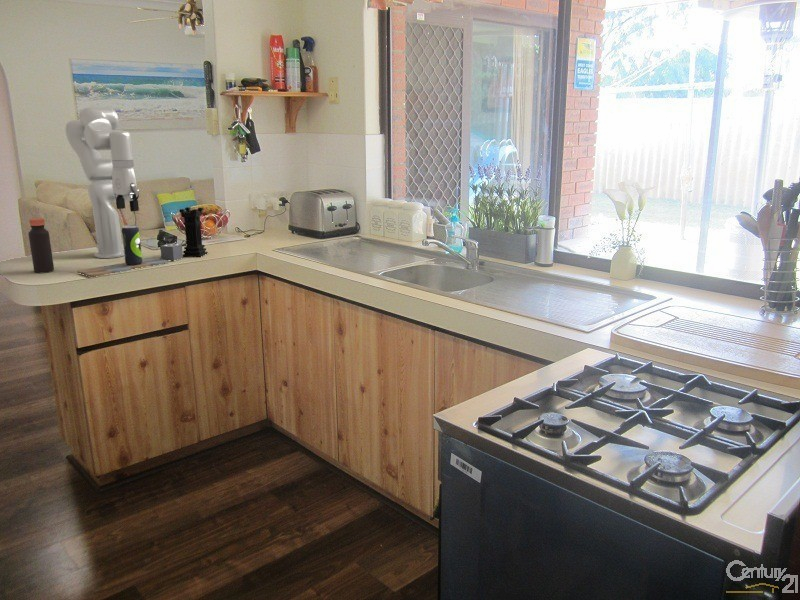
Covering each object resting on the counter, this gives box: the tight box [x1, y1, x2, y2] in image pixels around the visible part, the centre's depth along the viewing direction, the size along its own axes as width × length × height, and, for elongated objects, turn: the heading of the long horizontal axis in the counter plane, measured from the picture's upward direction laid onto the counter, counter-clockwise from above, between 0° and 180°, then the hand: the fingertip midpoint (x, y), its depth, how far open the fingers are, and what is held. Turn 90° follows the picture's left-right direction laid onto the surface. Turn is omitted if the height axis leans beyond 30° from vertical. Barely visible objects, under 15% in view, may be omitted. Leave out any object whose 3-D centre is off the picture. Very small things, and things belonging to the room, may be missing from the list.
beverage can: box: [121, 224, 143, 265], centre depth 252 cm, size 6×6×15 cm
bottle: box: [27, 217, 55, 273], centre depth 244 cm, size 7×7×20 cm
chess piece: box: [179, 206, 209, 258], centre depth 273 cm, size 8×8×20 cm
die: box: [160, 243, 184, 262], centre depth 267 cm, size 6×6×6 cm
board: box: [77, 257, 170, 278], centre depth 251 cm, size 10×32×1 cm, turn 142°
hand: (127, 209), depth 249 cm, fingers open, 9 cm apart
